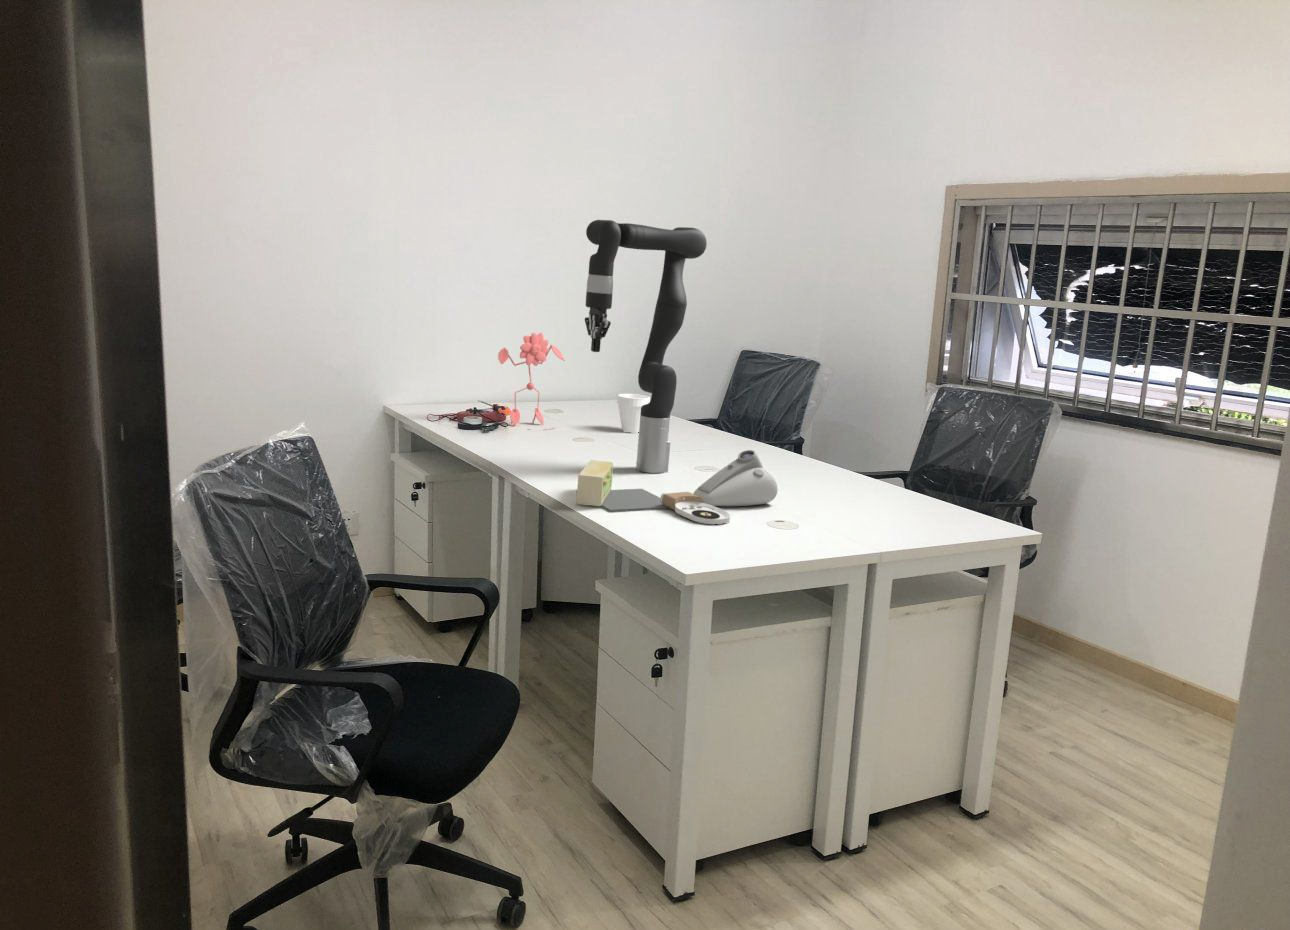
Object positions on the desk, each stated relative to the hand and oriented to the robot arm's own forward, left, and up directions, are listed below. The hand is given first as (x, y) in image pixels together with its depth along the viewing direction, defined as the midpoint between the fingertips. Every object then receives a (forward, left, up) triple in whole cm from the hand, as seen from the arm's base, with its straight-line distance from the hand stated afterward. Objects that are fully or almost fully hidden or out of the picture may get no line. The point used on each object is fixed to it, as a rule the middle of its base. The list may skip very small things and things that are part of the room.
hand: (595, 351), depth 290 cm
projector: (-28, +37, -37) cm, 59 cm away
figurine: (-14, -79, -37) cm, 89 cm away
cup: (-50, -67, -37) cm, 92 cm away
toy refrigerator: (+4, +17, -33) cm, 37 cm away
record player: (-10, +47, -37) cm, 61 cm away
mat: (+2, +30, -37) cm, 48 cm away
